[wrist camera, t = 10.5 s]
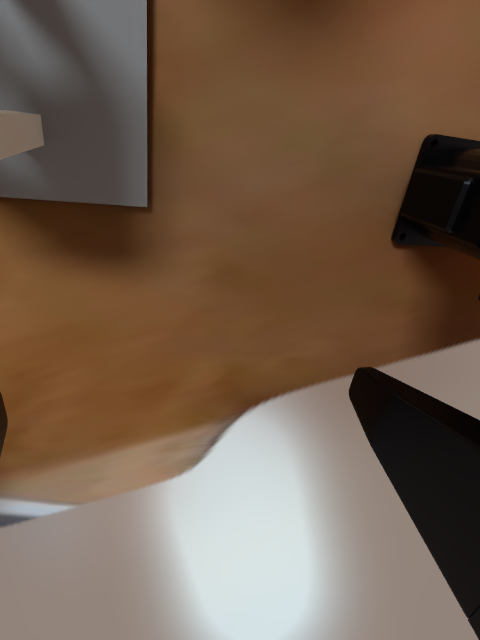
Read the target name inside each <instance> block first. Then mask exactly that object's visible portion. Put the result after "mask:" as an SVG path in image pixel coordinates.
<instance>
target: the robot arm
mask: <svg viewBox="0 0 480 640" xmlns="http://www.w3.org/2000/svg"><path fill="white" fill-rule="evenodd" d="M432 141H433V145H432V147H431V146H430V145H431V142H432ZM401 234H402V236H401V237H400V238H399V236H400V235H401ZM392 240H393V241H394V242H396V243H398V244H406V245H426V246H446V247H450V248H452V249H455V250H457V251H460V252H462V253H464V254H467V255H469V256H472V257H474V258H476V259H479V260H480V141H475V140H468V139H462V138H456V137H450V136H444V135H438V134H430V135H428V136H427V137H426V138H425V139H424V141H423V143H422V146H421V149H420V152H419V155H418V158H417V161H416V164H415V167H414V170H413V174H412V177H411V180H410V183H409V186H408V189H407V192H406V195H405V198H404V201H403V204H402V207H401V210H400V213H399V216H398V219H397V222H396V225H395V228H394V231H393V234H392ZM478 299H479V300H480V295H479V298H478ZM349 397H350V400H351V402H352V404H353V407H354V409H355V411H356V414H357V416H358V418H359V420H360V423H361V425H362V427H363V430H364V432H365V434H366V436H367V438H368V441H369V443H370V445H371V447H372V448H373V451H374V452H375V454H376V456H377V458H378V459H379V461H380V463H381V465H382V466H383V469H384V470H385V472H386V474H387V476H388V477H389V479H390V481H391V483H392V484H393V486H394V488H395V490H396V492H397V493H398V495H399V497H400V499H401V501H402V502H403V504H404V506H405V508H406V510H407V511H408V513H409V515H410V517H411V519H412V520H413V522H414V524H415V526H416V528H417V529H418V531H419V533H420V535H421V536H422V538H423V540H424V542H425V544H426V545H427V547H428V549H429V551H430V553H431V554H432V556H433V558H434V560H435V561H436V563H437V565H438V567H439V569H440V570H441V572H442V574H443V576H444V577H445V579H446V581H447V583H448V585H449V587H450V588H451V590H452V592H453V593H454V596H455V597H456V599H457V601H458V603H459V604H460V606H461V608H462V610H463V612H464V613H465V615H466V617H467V618H468V621H469V623H470V625H471V626H472V628H473V630H474V631H475V634H476V635H477V637H478V639H479V640H480V420H478V419H476V418H474V417H472V416H470V415H468V414H465V413H464V412H462V411H460V410H458V409H455V408H454V407H452V406H450V405H448V404H445V403H443V402H441V401H439V400H437V399H435V398H433V397H431V396H429V395H427V394H425V393H423V392H421V391H419V390H417V389H415V388H413V387H411V386H409V385H407V384H405V383H403V382H401V381H399V380H397V379H395V378H393V377H391V376H389V375H387V374H385V373H383V372H381V371H379V370H377V369H375V368H372V367H360V368H358V369H357V370H356V371H355V374H354V377H353V379H352V383H351V385H350V388H349ZM7 424H8V420H7V414H6V410H5V406H4V402H3V398H2V394H1V393H0V456H1V452H2V448H3V443H4V439H5V435H6V430H7Z"/></svg>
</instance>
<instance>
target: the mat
mask: <svg viewBox="0 0 480 640" xmlns="http://www.w3.org/2000/svg"><path fill="white" fill-rule="evenodd" d="M0 110H8V111H16V112H24V113H32V114H39V115H41V122H42V130H43V138H44V145H43V146H40V147H37V148H34V149H31V150H28V151H25V152H22V153H19V154H16V155H13V156H10V157H7V158H4V159H1V160H0V197H8V198H22V199H37V200H51V201H66V202H80V203H95V204H109V205H124V206H138V207H147V0H0Z"/></svg>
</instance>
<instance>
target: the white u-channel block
mask: <svg viewBox="0 0 480 640" xmlns="http://www.w3.org/2000/svg"><path fill="white" fill-rule="evenodd" d="M43 145H44V138H43V130H42V122H41V115H39V114H32V113H24V112H16V111H8V110H0V160H1V159H4V158H7V157H10V156H13V155H16V154H19V153H22V152H25V151H28V150H31V149H34V148H37V147H40V146H43Z"/></svg>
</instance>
